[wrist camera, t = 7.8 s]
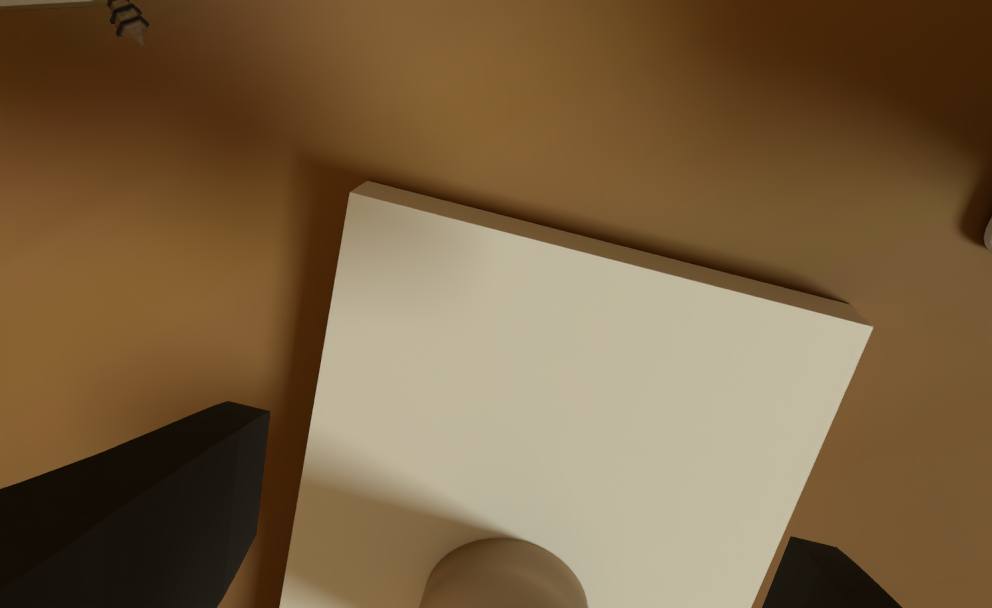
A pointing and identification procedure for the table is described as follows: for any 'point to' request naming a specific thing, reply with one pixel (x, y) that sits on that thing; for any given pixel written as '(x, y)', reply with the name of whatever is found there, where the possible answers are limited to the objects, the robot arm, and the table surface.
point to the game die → (121, 9)
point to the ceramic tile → (555, 411)
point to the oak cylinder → (502, 578)
